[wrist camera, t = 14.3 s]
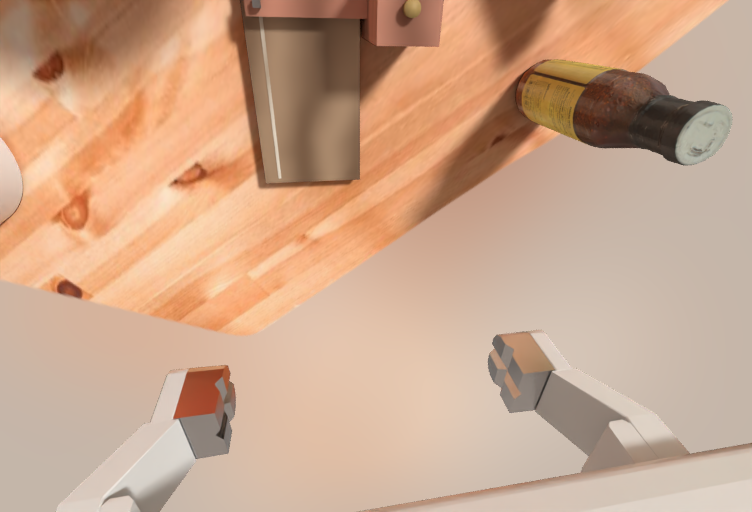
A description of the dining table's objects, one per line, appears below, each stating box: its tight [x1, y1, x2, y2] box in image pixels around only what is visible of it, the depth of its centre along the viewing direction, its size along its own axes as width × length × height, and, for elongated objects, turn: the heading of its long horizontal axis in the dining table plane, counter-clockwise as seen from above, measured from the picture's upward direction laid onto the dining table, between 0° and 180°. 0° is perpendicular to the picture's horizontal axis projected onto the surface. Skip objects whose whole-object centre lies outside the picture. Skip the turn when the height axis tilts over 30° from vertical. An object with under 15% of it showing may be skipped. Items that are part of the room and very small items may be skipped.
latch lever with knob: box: [244, 0, 444, 47], centre depth 31 cm, size 15×5×9 cm, turn 89°
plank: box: [240, 0, 360, 183], centre depth 36 cm, size 10×22×2 cm, turn 179°
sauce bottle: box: [516, 59, 732, 165], centre depth 33 cm, size 7×6×20 cm
